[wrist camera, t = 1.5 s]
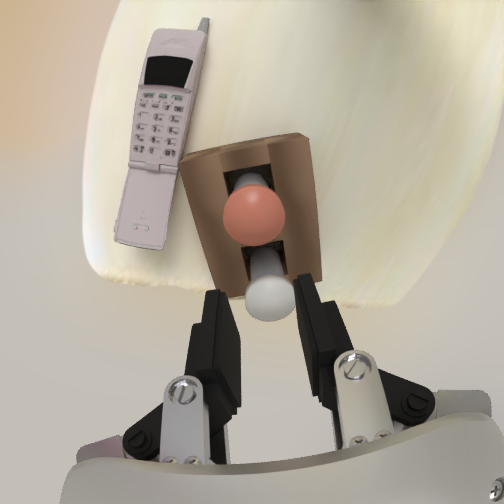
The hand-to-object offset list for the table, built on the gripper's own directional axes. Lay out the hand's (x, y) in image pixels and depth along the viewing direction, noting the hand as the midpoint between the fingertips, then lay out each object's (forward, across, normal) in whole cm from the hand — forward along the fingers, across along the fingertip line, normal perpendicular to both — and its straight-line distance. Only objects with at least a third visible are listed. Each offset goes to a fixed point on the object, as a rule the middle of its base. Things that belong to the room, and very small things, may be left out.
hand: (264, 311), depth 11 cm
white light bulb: (+17, 0, +8) cm, 19 cm away
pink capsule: (+17, 0, 0) cm, 17 cm away
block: (+21, 0, +4) cm, 22 cm away
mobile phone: (+22, +8, -8) cm, 24 cm away
